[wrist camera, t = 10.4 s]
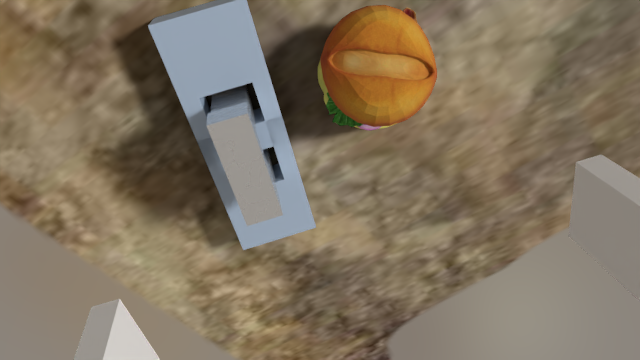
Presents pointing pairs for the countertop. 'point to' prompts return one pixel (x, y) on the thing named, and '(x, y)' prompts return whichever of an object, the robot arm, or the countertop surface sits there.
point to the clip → (243, 155)
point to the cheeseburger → (376, 68)
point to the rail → (222, 74)
